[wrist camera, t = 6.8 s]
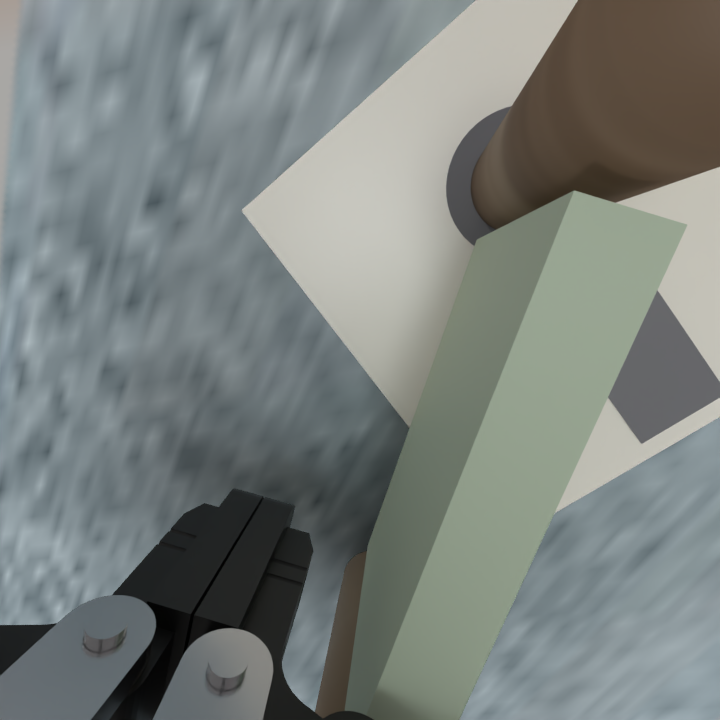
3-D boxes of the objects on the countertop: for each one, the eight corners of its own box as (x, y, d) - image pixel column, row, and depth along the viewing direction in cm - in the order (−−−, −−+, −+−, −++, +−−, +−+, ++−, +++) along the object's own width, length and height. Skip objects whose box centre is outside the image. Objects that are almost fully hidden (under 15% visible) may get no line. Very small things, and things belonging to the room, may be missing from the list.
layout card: (831, -312, 8) (849, -337, 8) (1101, 183, 10) (1128, 180, 9) (245, 212, 12) (240, 210, 11) (497, 538, 13) (500, 546, 12)
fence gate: (461, 235, 10) (556, 164, 4) (540, 258, 10) (775, 230, 4) (335, 596, 13) (260, 938, 6) (398, 618, 13) (390, 987, 6)
